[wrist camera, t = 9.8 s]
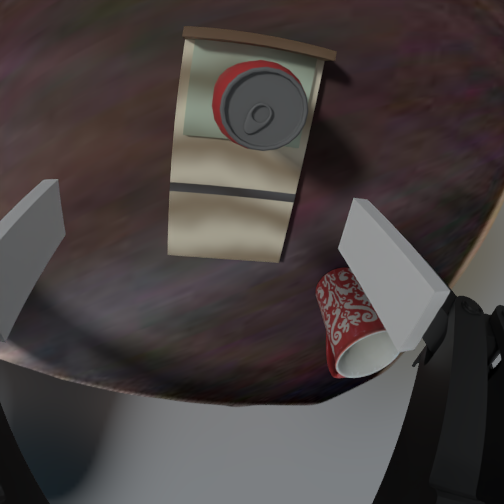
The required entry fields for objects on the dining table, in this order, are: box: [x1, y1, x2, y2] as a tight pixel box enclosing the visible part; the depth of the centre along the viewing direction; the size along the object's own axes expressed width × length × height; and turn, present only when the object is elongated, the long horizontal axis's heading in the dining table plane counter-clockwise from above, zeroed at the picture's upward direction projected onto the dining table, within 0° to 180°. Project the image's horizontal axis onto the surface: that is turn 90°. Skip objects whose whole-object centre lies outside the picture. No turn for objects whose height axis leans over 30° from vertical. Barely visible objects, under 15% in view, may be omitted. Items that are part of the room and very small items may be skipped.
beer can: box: [212, 60, 308, 151], centre depth 23 cm, size 7×7×12 cm
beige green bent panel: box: [168, 26, 337, 263], centre depth 31 cm, size 26×14×4 cm, turn 171°
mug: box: [316, 268, 400, 378], centre depth 41 cm, size 13×9×14 cm
